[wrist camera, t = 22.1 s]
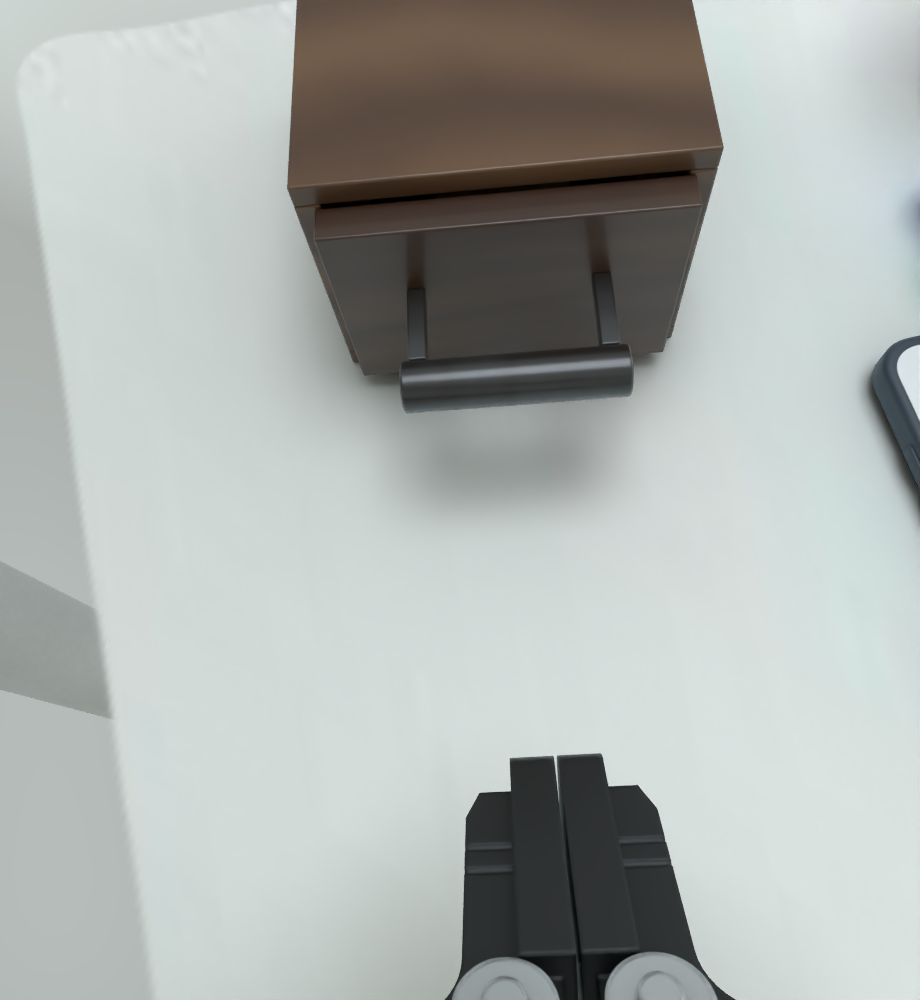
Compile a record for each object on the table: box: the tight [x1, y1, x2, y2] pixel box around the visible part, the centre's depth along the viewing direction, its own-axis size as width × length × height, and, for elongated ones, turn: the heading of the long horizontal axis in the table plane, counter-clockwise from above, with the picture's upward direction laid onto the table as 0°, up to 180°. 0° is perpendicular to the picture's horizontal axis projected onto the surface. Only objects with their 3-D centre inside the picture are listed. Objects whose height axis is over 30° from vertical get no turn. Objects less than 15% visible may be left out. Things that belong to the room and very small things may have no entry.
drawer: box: [314, 173, 703, 413], centre depth 29 cm, size 18×11×8 cm, turn 2°
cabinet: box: [287, 0, 724, 362], centre depth 31 cm, size 15×13×10 cm
